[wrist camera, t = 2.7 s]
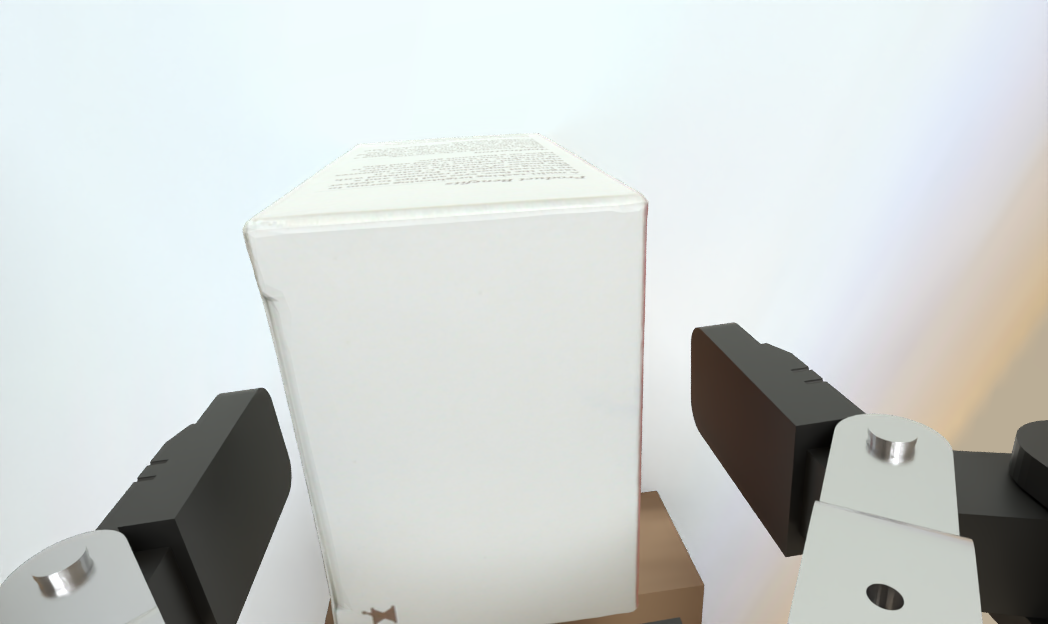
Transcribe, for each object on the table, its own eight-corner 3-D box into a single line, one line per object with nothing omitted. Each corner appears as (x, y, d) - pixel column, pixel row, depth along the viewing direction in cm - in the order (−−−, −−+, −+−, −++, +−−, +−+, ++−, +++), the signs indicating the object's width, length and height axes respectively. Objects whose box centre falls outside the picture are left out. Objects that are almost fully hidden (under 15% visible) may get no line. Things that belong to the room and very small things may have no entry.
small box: (551, 366, 21) (644, 624, 11) (388, 382, 20) (335, 668, 10) (544, 126, 18) (662, 191, 8) (352, 138, 17) (231, 222, 7)
